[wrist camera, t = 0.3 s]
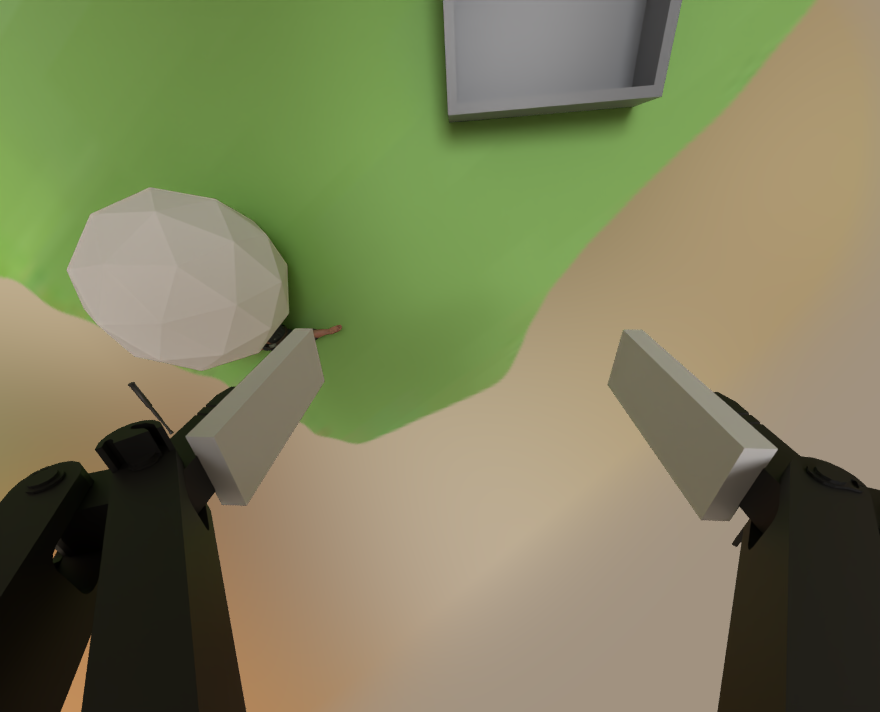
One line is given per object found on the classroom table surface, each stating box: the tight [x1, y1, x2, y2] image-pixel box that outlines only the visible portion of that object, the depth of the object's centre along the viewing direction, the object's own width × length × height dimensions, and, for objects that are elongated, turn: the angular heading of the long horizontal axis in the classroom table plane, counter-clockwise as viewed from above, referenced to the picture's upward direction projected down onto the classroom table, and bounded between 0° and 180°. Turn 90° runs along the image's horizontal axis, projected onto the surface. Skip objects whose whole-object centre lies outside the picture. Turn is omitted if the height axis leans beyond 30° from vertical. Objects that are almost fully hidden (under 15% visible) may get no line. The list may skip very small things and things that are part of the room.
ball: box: [67, 187, 342, 434], centre depth 35 cm, size 17×25×24 cm
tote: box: [443, 0, 682, 123], centre depth 27 cm, size 18×14×5 cm
